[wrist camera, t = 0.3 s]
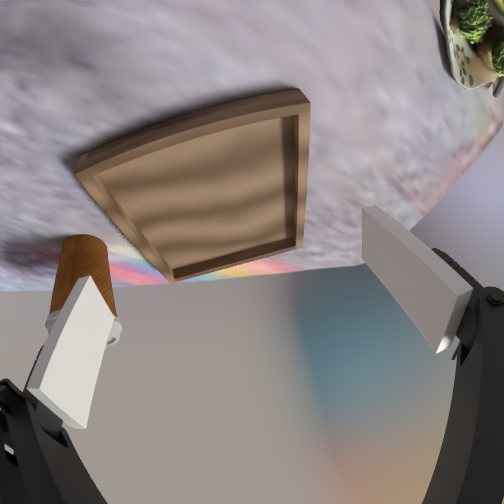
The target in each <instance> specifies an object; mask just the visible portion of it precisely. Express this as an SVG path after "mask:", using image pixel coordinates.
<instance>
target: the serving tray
mask: <svg viewBox="0 0 504 504" xmlns="http://www.w3.org/2000/svg"><path fill="white" fill-rule="evenodd" d="M309 135H310V101H309V100H308V99H307V98H306V96H305V95H304V94H303V93H302V92H301V90H300V89H293V90H286V91H280V92H274V93H269V94H264V95H259V96H254V97H249V98H244V99H240V100H235V101H231V102H227V103H223V104H219V105H215V106H211V107H208V108H204V109H201V110H197V111H194V112H190V113H187V114H184V115H181V116H177V117H174V118H171V119H168V120H165V121H162V122H159V123H157V124H154V125H151V126H148V127H146V128H143V129H140V130H138V131H135V132H132V133H130V134H127V135H125V136H122V137H120V138H118V139H115V140H113V141H111V142H108V143H106V144H104V145H102V146H99V147H97V148H95V149H93V150H91V151H89V152H86V153H84V154H82V155H80V156H79V159H78V163H77V166H76V170H75V174H74V175H75V176H76V177H77V179H78V180H79V181H80V182H81V184H82V185H83V186H84V187H85V189H86V190H87V191H88V192H89V194H90V195H91V196H92V197H93V198H94V200H95V201H96V202H97V203H98V204H99V206H100V207H101V208H102V209H103V210H104V212H105V213H106V214H107V215H108V216H109V217H110V219H111V220H112V221H113V222H114V223H115V224H116V225H117V227H118V228H119V229H120V230H121V231H122V232H123V233H124V234H125V236H126V237H127V238H128V239H129V240H130V241H131V242H132V243H133V244H134V246H135V247H136V248H137V249H138V250H139V251H140V252H141V253H142V254H143V255H144V256H145V257H146V258H147V260H148V261H149V262H150V263H151V264H152V265H153V266H154V267H155V268H156V269H157V270H158V271H159V272H160V273H161V274H162V275H163V276H164V277H165V278H166V279H167V280H168V281H169V282H170V283H174V282H177V281H181V280H185V279H189V278H192V277H196V276H200V275H203V274H207V273H211V272H214V271H218V270H222V269H225V268H229V267H233V266H236V265H240V264H244V263H247V262H251V261H255V260H258V259H262V258H266V257H269V256H273V255H276V254H280V253H284V252H287V251H291V250H294V249H298V248H302V245H303V234H304V221H305V208H306V193H307V177H308V158H309Z"/></svg>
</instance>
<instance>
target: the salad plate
mask: <svg viewBox="0 0 504 504" xmlns="http://www.w3.org/2000/svg"><path fill="white" fill-rule="evenodd" d="M440 21H441V25H442V27H443V30H444V34H445V41H446V50H447V54H448V58H449V62H450V65H451V73H452V75H453V77H454V79H455V80H456V82H457V84H459V85H461V86H462V87H464V88H465V89H474V88H477V87H479V86H481V85H483V84H485V83H487V82H490V81H491V82H492V83H493V96H494V97H495V98H497V97H498V96H499V94H500V93H501V90H502V88H503V86H504V0H440Z"/></svg>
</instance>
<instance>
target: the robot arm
mask: <svg viewBox="0 0 504 504" xmlns="http://www.w3.org/2000/svg"><path fill="white" fill-rule="evenodd" d="M362 259H363V260H364V261H365V263H366V264H367V265H368V266H369V267H370V268H371V270H372V271H373V272H374V273H375V275H376V276H377V277H378V278H379V280H380V281H381V282H382V283H383V284H384V286H385V287H386V288H387V289H388V290H389V292H390V293H391V294H392V296H393V297H394V298H395V299H396V301H397V302H398V303H399V305H400V306H401V307H402V308H403V310H404V311H405V312H406V314H407V315H408V316H409V318H410V319H411V320H412V322H413V323H414V324H415V325H416V327H417V328H418V330H419V331H420V332H421V334H422V335H423V337H424V338H425V339H426V341H427V342H428V344H429V345H430V346H431V348H432V349H433V351H434V352H435V353H438V352H440V351H442V350H444V349H446V348H447V347H449V346H451V344H452V342H453V340H454V337H455V335H456V336H457V337H458V338H459V339H460V342H459V344H458V346H457V348H456V350H455V353H454V354H453V357H452V360H454V359H455V357H456V355H457V364H456V373H455V381H454V388H453V395H452V401H451V407H450V412H449V417H448V422H447V426H446V430H445V435H444V439H443V443H442V446H441V450H440V454H439V457H438V460H437V464H436V467H435V470H434V473H433V476H432V479H431V482H430V485H429V487H428V490H427V493H426V495H425V498H424V500H423V502H422V504H502V500H503V497H504V292H503V291H502V290H500V289H499V288H496V287H485V288H484V287H482V286H481V285H480V284H479V283H478V282H477V281H476V280H475V279H474V278H473V277H472V276H471V275H470V274H469V273H467V272H466V271H465V270H464V269H463V268H462V267H460V265H459V264H458V263H457V262H454V260H453V259H452V258H451V257H449V256H448V255H447V254H446V253H444V252H442V251H440V250H438V249H436V248H433V249H430V248H429V247H428V246H426V245H425V244H424V243H423V242H422V241H420V240H419V239H418V238H416V236H414V235H413V234H412V233H411V232H409V231H408V230H407V229H406V228H404V227H403V226H402V225H401V224H399V223H398V222H397V221H396V220H394V219H393V218H392V217H390V216H389V215H388V214H386V213H385V212H384V211H382V210H381V209H380V208H378V207H377V206H371V207H366V208H362ZM114 318H115V317H114V315H113V314H112V312H111V311H110V309H109V307H108V306H107V304H106V302H105V301H104V299H103V297H102V295H101V294H100V292H99V290H98V288H97V287H96V285H95V283H94V281H93V279H92V278H91V276H86V277H82V278H79V279H78V280H77V282H76V284H75V286H74V287H73V289H72V291H71V293H70V295H69V296H68V298H67V300H66V302H65V304H64V306H63V308H62V309H61V311H60V313H59V315H58V317H57V319H56V321H55V323H54V325H53V327H52V329H51V331H50V333H49V336H48V338H47V340H46V342H45V344H44V345H43V346H42V348H41V349H40V351H39V353H38V356H37V360H35V362H34V365H33V366H34V367H32V370H31V372H30V375H29V377H28V380H27V382H26V385H25V388H24V390H23V393H22V392H21V391H20V390H19V389H18V388H17V387H16V386H15V385H14V384H13V383H12V382H11V381H10V380H9V379H2V380H1V381H0V408H1V410H0V504H107V502H106V501H105V499H104V498H103V496H102V495H101V493H100V491H99V490H98V488H97V487H96V485H95V484H94V482H93V480H92V479H91V477H90V475H89V474H88V472H87V470H86V468H85V467H84V465H83V463H82V461H81V459H80V457H79V456H78V454H77V452H76V450H75V448H74V446H73V444H72V442H71V440H70V437H69V435H68V433H67V431H66V430H65V429H64V428H63V427H62V422H63V421H64V422H65V423H66V424H68V425H69V426H70V427H72V428H79V429H86V426H87V420H88V416H89V410H90V406H91V401H92V397H93V392H94V388H95V384H96V380H97V376H98V372H99V368H100V365H101V361H102V357H103V354H104V350H105V347H106V343H107V340H108V337H109V334H110V330H111V327H112V324H113V321H114ZM4 444H6V445H7V446H9V447H10V448H12V449H13V450H14V454H13V455H12V454H11V453H9V452H8V451H6V450H5V447H4Z"/></svg>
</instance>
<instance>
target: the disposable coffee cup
mask: <svg viewBox="0 0 504 504" xmlns="http://www.w3.org/2000/svg"><path fill="white" fill-rule="evenodd" d="M86 276H91V278H92V279H93V281H94V283H95V285H96V287H97V288H98V290H99V292H100V294H101V295H102V297H103V299H104V301H105V302H106V304H107V306H108V307H109V309H110V311H111V312H112V314H113V315H114V317H115V318H114V321H113V324H112V327H111V330H110V334H109V337H108V340H107V343H106V346H109V345H112V344H115V343H117V342H118V341H119V337H120V332H121V331H122V325H121V323H120V322H119V319H118V318H117V314H116V308H115V303H114V297H113V291H112V283H111V277H110V269H109V261H108V252H107V246H106V244H105V243H104V242H103V241H102V240H100V239H98V238H96V237H93V236H89V235H77V236H73V237H70V238H68V239H67V240H66V241H65V242H64V244H63V248H62V252H61V256H60V260H59V265H58V269H57V274H56V278H55V283H54V289H53V295H52V301H51V307H50V313H49V316H48V318H47V320H46V323H45V326H46V328H47V329H48V333H50V331H51V329H52V327H53V325H54V323H55V321H56V319H57V317H58V315H59V313H60V311H61V309H62V308H63V306H64V304H65V302H66V300H67V298H68V296H69V295H70V293H71V291H72V289H73V287H74V286H75V284H76V282H77V280H78V279H79V278H82V277H86Z"/></svg>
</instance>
